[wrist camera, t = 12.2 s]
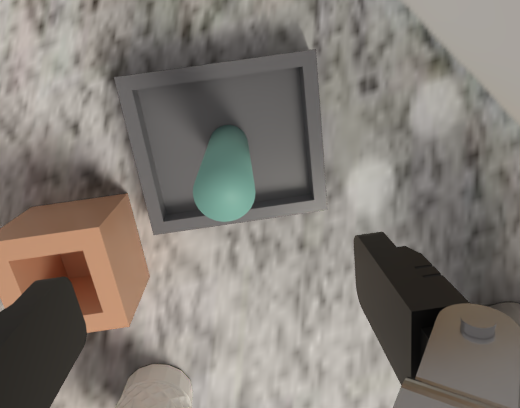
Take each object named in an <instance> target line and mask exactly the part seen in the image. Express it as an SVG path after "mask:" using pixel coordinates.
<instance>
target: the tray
mask: <svg viewBox="0 0 520 408" xmlns="http://www.w3.org/2000/svg"><path fill="white" fill-rule="evenodd" d="M114 80H115V84H116V88H117V92H118V96H119V100H120V104H121V108H122V112H123V116H124V120H125V124H126V127H127V131H128V135H129V139H130V143H131V147H132V151H133V155H134V159H135V163H136V167H137V171H138V175H139V179H140V183H141V187H142V191H143V195H144V199H145V203H146V207H147V211H148V215H149V219H150V223H151V227H152V231H153V235H158V234H164V233H171V232H178V231H185V230H192V229H199V228H206V227H213V226H220V225H227V224H234V223H241V222H248V221H255V220H262V219H269V218H276V217H282V216H289V215H296V214H303V213H310V212H317V211H324V210H328V208H327V194H326V181H325V167H324V153H323V140H322V126H321V113H320V99H319V85H318V72H317V58H316V49H313V50H306V51H299V52H292V53H285V54H277V55H270V56H263V57H256V58H249V59H242V60H234V61H227V62H220V63H213V64H206V65H199V66H191V67H184V68H177V69H170V70H163V71H155V72H148V73H141V74H134V75H127V76H120V77H114ZM224 125H233V126H236V127H238V128H240V129H241V130H242V131H243V132H244V133H245V135H246V137H247V140H248V146H249V152H250V159H251V165H252V171H253V178H254V184H255V200H254V203H253V205H252V207H251V208H250V210H249V211H248V212H247V213H246V214H245V215H244V216H242V217H241V218H239V219H236V220H234V221H228V222H221V221H216V220H213V219H210V218H208V217H207V216H205V215H204V214H203V213H202V212H201V211H200V210H199V209H198V207H197V206H196V204H195V201H194V198H193V186H194V183H195V180H196V177H197V174H198V171H199V168H200V166H201V163H202V160H203V157H204V154H205V151H206V149H207V146H208V143H209V140H210V137H211V135H212V133H213V132H214V131H215V130H216V129H217V128H219V127H221V126H224Z"/></svg>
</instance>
